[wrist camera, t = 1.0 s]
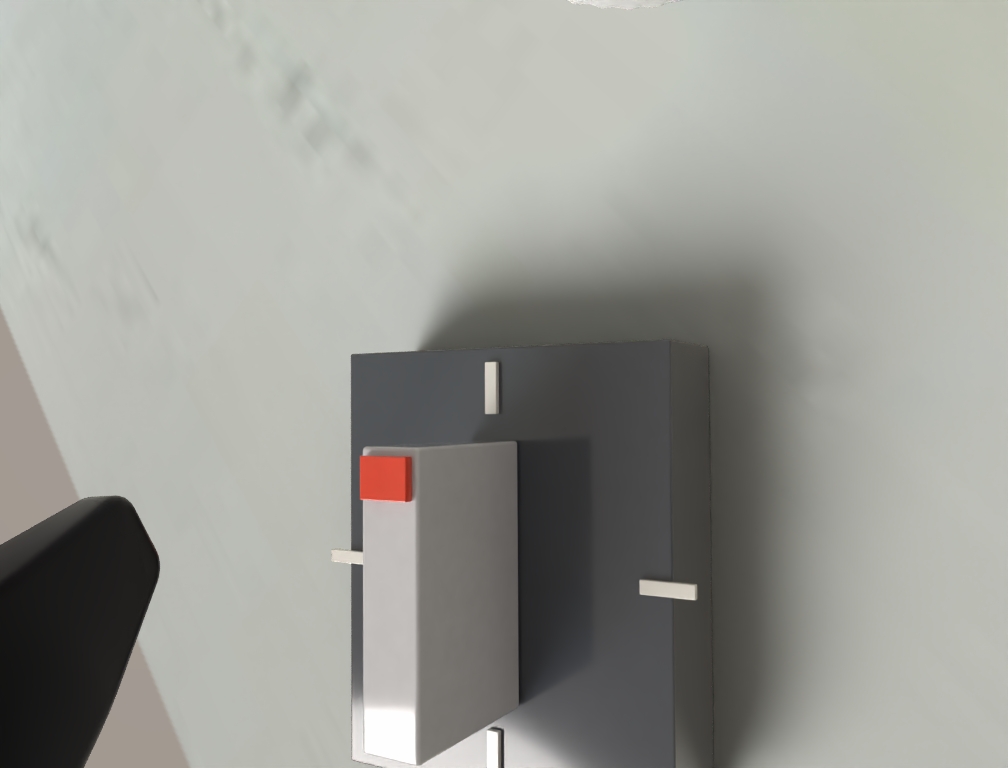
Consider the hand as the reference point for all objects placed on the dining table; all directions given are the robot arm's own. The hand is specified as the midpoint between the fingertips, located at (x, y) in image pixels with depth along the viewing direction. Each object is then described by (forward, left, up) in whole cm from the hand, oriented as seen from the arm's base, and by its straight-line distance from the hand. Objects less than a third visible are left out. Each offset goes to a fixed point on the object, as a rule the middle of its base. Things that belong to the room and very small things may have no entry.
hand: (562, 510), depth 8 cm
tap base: (-3, +9, -16) cm, 19 cm away
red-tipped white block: (-3, +9, -13) cm, 16 cm away
